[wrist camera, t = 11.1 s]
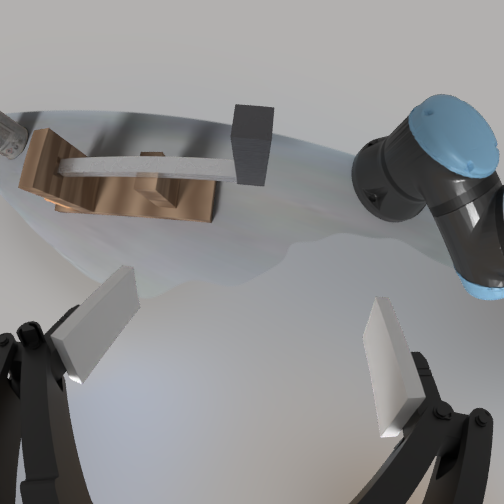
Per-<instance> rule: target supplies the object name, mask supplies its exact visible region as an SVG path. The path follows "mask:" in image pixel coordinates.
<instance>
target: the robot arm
mask: <svg viewBox="0 0 504 504" xmlns="http://www.w3.org/2000/svg"><path fill="white" fill-rule="evenodd" d="M496 146H497V141H496V138H495V136H494V133H493V131H492V130H491V128H490V126H489V125H488V123H487V122H486V121H485V119H484V118H483V117H482V116H481V115H480V113H478V112H477V111H476V110H475V109H474V108H473V107H472V106H470V105H469V104H467V103H466V102H464V101H461V100H460V99H458V98H456V97H454V96H451V95H445V94H439V95H434V96H431V97H429V98H428V99H426V100H425V101H424V102H423V103H422V104H420V105H418V106H416V107H415V108H414V109H413V110H412V111H411V113H410V115H409V116H408V117H407V118H406V119H405V120H404V121H403V122H402V123H401V124H400V125H399V126H398V127H397V128H396V129H395V130H394V131H393V132H392V133H391V134H390V135H389V136H387V137H382V138H378V139H375V140H372V141H370V142H369V143H367V144H366V145H365V146H364V147H363V148H362V149H361V150H360V151H359V153H358V154H357V155H356V157H355V159H354V162H353V166H352V181H353V186H354V189H355V192H356V194H357V196H358V198H359V200H360V201H361V203H362V204H363V205H364V206H365V208H366V209H367V210H368V211H369V212H371V213H372V214H373V215H375V216H376V217H378V218H380V219H382V220H385V221H388V222H402V221H405V220H408V219H411V218H413V217H415V216H416V215H418V214H419V213H420V212H421V211H422V210H423V208H424V207H425V205H426V204H427V205H428V207H429V209H430V211H431V213H432V215H433V217H434V219H435V222H436V224H437V226H438V228H439V230H440V233H441V235H442V237H443V239H444V242H445V244H446V246H447V249H448V251H449V254H450V256H451V259H452V261H453V264H454V268H455V270H456V273H457V274H458V276H459V277H460V279H461V282H462V284H463V286H464V288H465V290H466V291H467V292H468V293H469V294H470V295H472V296H474V297H476V298H478V299H483V300H497V299H501V298H504V185H502V183H501V181H500V179H499V177H498V175H497V173H496V171H495V169H496V167H497V165H498V162H499V150H498V149H497V148H496ZM139 308H140V304H139V298H138V292H137V286H136V280H135V273H134V267H129V266H123V265H122V266H121V267H120V268H119V269H118V270H117V271H116V272H115V273H114V274H113V275H112V276H110V277H109V278H108V279H107V280H106V281H105V282H104V283H103V284H102V285H101V286H100V287H99V288H98V289H97V290H96V291H95V292H94V293H92V294H91V295H90V296H89V297H88V298H87V299H86V300H85V301H84V302H83V303H82V304H81V305H77V306H75V307H73V308H71V309H69V310H68V312H66V313H65V315H64V316H62V317H61V319H59V321H57V323H55V324H54V325H53V326H52V328H50V330H49V331H48V332H47V333H46V334H45V335H44V334H43V332H42V329H41V327H40V325H39V324H38V323H37V322H34V321H32V322H27V323H24V324H23V325H21V326H20V327H19V328H18V330H17V332H16V333H17V335H18V337H19V339H20V341H21V342H16V340H15V338H14V336H13V335H12V334H11V333H3V334H1V335H0V504H15V497H16V478H17V466H18V456H19V449H20V442H21V438H22V450H23V459H24V467H25V473H26V479H25V481H22V482H21V484H20V492H21V496H22V502H23V504H93V503H92V501H91V498H90V496H89V492H88V490H87V486H86V483H85V479H84V476H83V472H82V469H81V465H80V461H79V457H78V453H77V449H76V444H75V440H74V436H73V430H72V425H71V419H70V413H69V407H68V400H67V392H66V383H65V379H64V376H63V374H64V373H65V372H66V371H67V373H68V375H69V377H70V379H71V380H74V381H76V382H78V383H81V384H83V383H84V381H85V380H86V379H87V377H88V376H89V375H90V373H91V372H92V370H93V369H94V368H95V366H96V365H97V364H98V362H99V361H100V359H101V358H102V357H103V355H104V354H105V352H106V351H107V350H108V349H109V347H110V346H111V345H112V343H113V342H114V341H115V339H116V338H117V337H118V335H119V334H120V333H121V331H122V330H123V329H124V328H125V326H126V325H127V324H128V322H129V321H130V320H131V318H132V317H133V316H134V314H135V313H136V312H137V311H138V309H139ZM362 338H363V342H364V346H365V352H366V356H367V361H368V366H369V371H370V377H371V382H372V387H373V393H374V399H375V405H376V411H377V418H378V424H379V431H380V437H394V436H397V435H398V434H399V433H400V431H401V430H402V429H403V435H404V437H403V438H402V439H401V441H400V442H399V443H398V444H397V445H396V446H395V448H394V451H393V452H392V453H391V455H390V456H389V457H388V459H387V460H386V461H385V463H384V464H383V465H382V466H381V468H380V469H379V470H378V472H377V473H376V474H375V475H374V476H373V478H372V479H371V480H370V481H369V482H368V483H367V485H366V486H365V487H364V488H363V489H362V490H361V492H360V493H359V494H358V495H357V496H356V497H355V498H354V499H353V500H352V501H351V502H350V504H406V502H407V501H408V499H409V498H410V496H411V495H412V493H413V492H414V490H415V489H416V487H417V486H418V484H419V483H420V481H421V480H422V478H423V476H424V475H425V473H426V472H427V470H428V468H429V466H430V465H431V463H432V461H433V459H434V458H435V456H437V459H436V462H435V466H434V469H433V473H432V476H431V479H430V483H429V486H428V489H427V492H426V495H425V498H424V500H423V503H422V504H483V499H484V495H485V489H486V484H487V479H488V472H489V466H490V457H491V448H492V435H493V418H492V416H491V414H490V413H489V412H488V411H487V410H485V409H483V408H476V409H474V410H473V411H472V412H471V413H470V414H469V415H465V414H460V413H456V412H454V411H453V409H452V407H451V406H450V405H449V404H448V403H446V402H444V401H442V400H441V398H440V395H439V392H438V390H437V386H436V384H435V381H434V378H433V376H432V373H431V370H429V365H428V362H427V360H426V359H425V357H424V356H423V355H422V354H421V353H420V352H410V349H409V347H408V344H407V341H406V339H405V336H404V334H403V331H402V329H401V326H400V323H399V321H398V318H397V316H396V313H395V311H394V309H393V307H392V304H391V302H390V299H389V298H386V297H375V300H374V304H373V307H372V310H371V313H370V317H369V320H368V322H367V325H366V328H365V332H364V334H363V337H362ZM8 372H9V374H10V377H9V379H8V378H7V377H8Z"/></svg>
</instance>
